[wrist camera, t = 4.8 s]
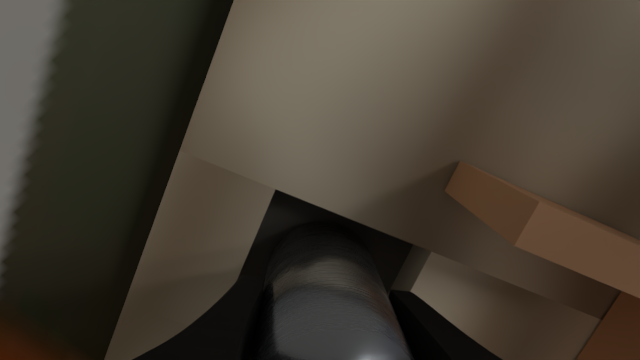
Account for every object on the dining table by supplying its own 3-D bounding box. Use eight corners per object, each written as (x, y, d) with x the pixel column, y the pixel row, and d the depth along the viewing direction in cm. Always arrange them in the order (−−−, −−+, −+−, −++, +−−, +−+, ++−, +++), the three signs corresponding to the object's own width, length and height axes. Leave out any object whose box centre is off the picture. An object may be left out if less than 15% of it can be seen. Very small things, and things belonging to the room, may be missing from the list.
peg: (381, 229, 13) (446, 342, 8) (363, 324, 14) (408, 493, 8) (273, 215, 13) (253, 321, 7) (261, 313, 14) (233, 481, 8)
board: (818, -21, 13) (890, -34, 11) (478, 493, 17) (496, 535, 16) (355, -301, 10) (366, -367, 9) (106, 379, 15) (84, 414, 13)
